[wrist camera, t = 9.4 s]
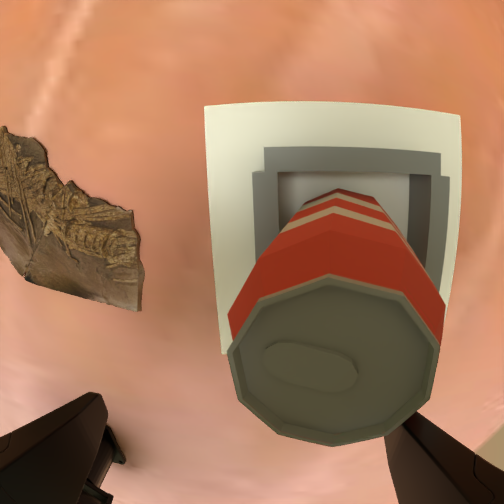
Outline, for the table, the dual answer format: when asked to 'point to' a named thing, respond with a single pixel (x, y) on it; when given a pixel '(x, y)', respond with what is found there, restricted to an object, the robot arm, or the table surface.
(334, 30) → the table surface
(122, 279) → the brown fossil slab
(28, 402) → the table surface
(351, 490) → the table surface
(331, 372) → the beverage can
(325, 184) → the can holder
